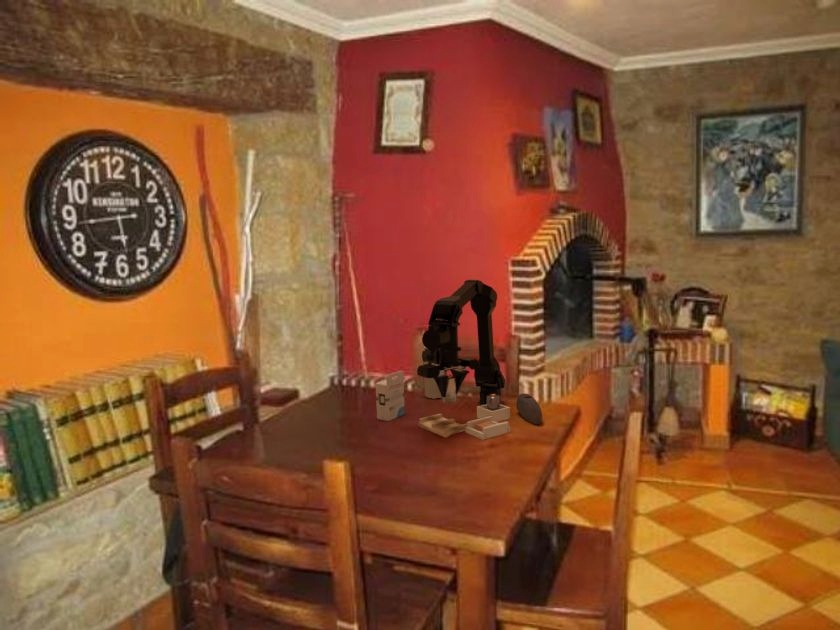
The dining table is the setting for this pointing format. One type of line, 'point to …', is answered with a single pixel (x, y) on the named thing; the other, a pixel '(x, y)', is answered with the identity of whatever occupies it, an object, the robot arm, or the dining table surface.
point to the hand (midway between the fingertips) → (449, 395)
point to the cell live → (450, 390)
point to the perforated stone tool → (529, 408)
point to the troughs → (441, 425)
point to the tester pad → (483, 425)
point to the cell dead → (493, 402)
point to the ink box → (390, 397)
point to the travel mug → (432, 384)
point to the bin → (494, 413)
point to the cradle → (487, 428)
